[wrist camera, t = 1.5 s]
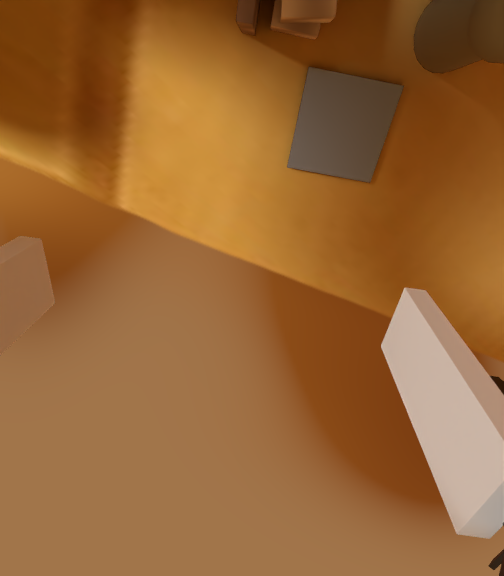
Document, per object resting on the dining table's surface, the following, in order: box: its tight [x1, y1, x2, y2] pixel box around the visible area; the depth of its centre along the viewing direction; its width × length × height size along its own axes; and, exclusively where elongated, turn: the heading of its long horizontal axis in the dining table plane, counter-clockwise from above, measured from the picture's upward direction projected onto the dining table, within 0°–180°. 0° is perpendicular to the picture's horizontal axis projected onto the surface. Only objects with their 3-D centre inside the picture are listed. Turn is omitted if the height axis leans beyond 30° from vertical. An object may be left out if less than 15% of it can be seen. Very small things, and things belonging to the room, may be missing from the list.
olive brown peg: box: [414, 0, 504, 73], centre depth 25 cm, size 6×6×11 cm
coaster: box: [287, 67, 404, 183], centre depth 34 cm, size 9×9×1 cm
